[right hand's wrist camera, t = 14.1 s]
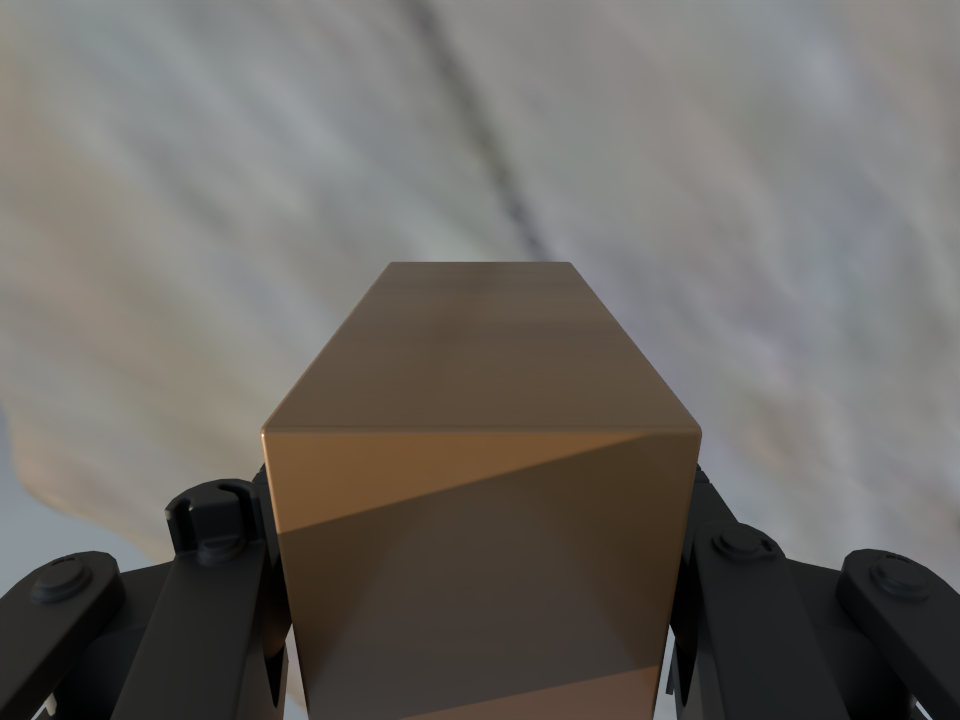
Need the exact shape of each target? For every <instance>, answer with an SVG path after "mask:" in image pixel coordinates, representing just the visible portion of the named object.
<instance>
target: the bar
mask: <svg viewBox="0 0 960 720" xmlns="http://www.w3.org/2000/svg"><path fill="white" fill-rule="evenodd" d="M260 437H261V442H262V448H263V454H264V460H265V466H266V472H267V478H268V484H269V489H270V495H271V501H272V507H273V513H274V519H275V525H276V531H277V536H278V542H279V548H280V554H281V560H282V566H283V572H284V577H285V583H286V589H287V595H288V601H289V607H290V613H291V619H292V624H293V630H294V636H295V642H296V648H297V654H298V660H299V665H300V671H301V677H302V683H303V689H304V695H305V701H306V707H307V712H308V718H309V720H653V717H654V711H655V706H656V700H657V694H658V688H659V682H660V677H661V671H662V665H663V659H664V653H665V647H666V642H667V636H668V630H669V624H670V618H671V613H672V607H673V601H674V595H675V589H676V584H677V578H678V572H679V566H680V560H681V555H682V549H683V543H684V537H685V531H686V525H687V520H688V514H689V508H690V502H691V496H692V491H693V485H694V479H695V473H696V467H697V462H698V456H699V450H700V444H701V438H702V430H701V427H700V426H699V424H698V423H697V422H696V421H695V419H694V418H693V417H692V415H691V414H690V413H689V412H688V410H687V409H686V408H685V407H684V405H683V404H682V403H681V402H680V400H679V399H678V398H677V397H676V395H675V394H674V393H673V391H672V390H671V389H670V388H669V386H668V385H667V384H666V383H665V381H664V380H663V379H662V378H661V376H660V375H659V374H658V372H657V371H656V370H655V369H654V367H653V366H652V365H651V364H650V362H649V361H648V360H647V359H646V357H645V356H644V355H643V354H642V352H641V351H640V350H639V348H638V347H637V346H636V345H635V343H634V342H633V341H632V340H631V338H630V337H629V336H628V335H627V333H626V332H625V331H624V329H623V328H622V327H621V326H620V324H619V323H618V322H617V321H616V319H615V318H614V317H613V316H612V314H611V313H610V312H609V311H608V309H607V308H606V307H605V305H604V304H603V303H602V302H601V300H600V299H599V298H598V297H597V295H596V294H595V293H594V292H593V290H592V289H591V288H590V287H589V285H588V284H587V283H586V281H585V280H584V279H583V278H582V276H581V275H580V274H579V273H578V271H577V270H576V269H575V268H574V266H573V265H572V264H571V263H570V262H391V263H389V264H388V266H387V267H386V268H385V270H384V271H383V272H382V273H381V275H380V276H379V277H378V279H377V280H376V281H375V282H374V284H373V285H372V286H371V288H370V289H369V290H368V291H367V293H366V294H365V295H364V297H363V298H362V299H361V300H360V302H359V303H358V304H357V306H356V307H355V308H354V309H353V311H352V312H351V313H350V315H349V316H348V317H347V318H346V320H345V321H344V322H343V323H342V325H341V326H340V327H339V329H338V330H337V331H336V332H335V334H334V335H333V336H332V338H331V339H330V340H329V341H328V343H327V344H326V345H325V347H324V348H323V349H322V350H321V352H320V353H319V354H318V356H317V357H316V358H315V359H314V361H313V362H312V363H311V365H310V366H309V367H308V368H307V370H306V371H305V372H304V374H303V375H302V376H301V377H300V379H299V380H298V381H297V382H296V384H295V385H294V386H293V388H292V389H291V390H290V391H289V393H288V394H287V395H286V397H285V398H284V399H283V400H282V402H281V403H280V404H279V406H278V407H277V408H276V409H275V411H274V412H273V413H272V415H271V416H270V417H269V418H268V420H267V421H266V422H265V424H264V425H263V426H262V428H261V431H260Z"/></svg>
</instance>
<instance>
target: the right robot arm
mask: <svg viewBox="0 0 960 720" xmlns="http://www.w3.org/2000/svg"><path fill="white" fill-rule="evenodd" d="M164 511H165V515H166V519H167V523H168V527H169V530H170V534H171V538H172V542H173V546H174V550H175V553H176V555H175V558H174V560H173V561H170V562H167V563H163V564H160V565H155V566H151V567H146V568H142V569H137V570H132V571H128V572H123V573H120V571H119V568H118V564H117V561H116V559H115V558H113V557H112V556H111V555H110V554H108V553H104V552H98V551H89V552H80V553H74V554H71V555H67V556H65V557H61V558H58V559H55V560H53V561H51V562H49V563H47V564H45V565H43V566H41V567H39V568H37V569H35V570H34V571H32V572H31V573H30V574H28V575H27V576H26V577H24V578H23V579H22V580H20V581H19V582H18V583H17V584H15V585H14V586H13V587H12V588H11V589H10V590H9V591H8V592H7V593H6V594H5V595H4V596H3V597H2V598H1V599H0V720H31V719H32V717H33V716H34V715H35V714H36V712H37V711H38V710H39V709H40V707H41V706H42V705H43V703H44V704H45V706H46V707H45V708H44V709H43V711H42V712H41V713H40V715H39V716H38V717H37V718H36V719H35V720H283V715H284V704H285V694H286V683H287V673H288V662H289V661H288V654H287V648H286V642H285V639H286V637H287V634H288V632H289V629H290V627H291V624H292V619H291V613H290V607H289V601H288V595H287V589H286V583H285V577H284V572H283V566H282V560H281V554H280V548H279V542H278V536H277V531H276V525H275V519H274V513H273V507H272V501H271V495H270V489H269V484H268V478H267V472H266V466H265V463H264V464H263V466H262V467H261V469H260V472H259V473H257V474H256V476H255V477H254V479H253V480H252V482H249V481H245V480H241V479H219V480H215V481H210V482H206V483H202V484H200V485H197V486H195V487H193V488H190V489H188V490H186V491H184V492H183V493H181V494H180V495H178V496H177V497H175V498H174V499H173V500H172V501H171V502H170V503H169V505H168V506H167V507H166V508H165V510H164ZM670 626H671V628H672V631H673V633H674V636H675V642H674V648H673V653H672V659H671V665H670V670H669V676H668V681H667V688H666V694H670V695H673V690H674V692H675V703H676V713H677V720H928V719H927V718H926V717H925V716H924V715H923V714H922V712H921V711H920V710H919V708H918V707H917V706H916V702H917V700H918V702H919V703H920V704H921V705H922V707H923V708H924V709H925V710H926V712H927V713H928V714H929V716H930V717H931V718H932V719H933V720H960V595H959V594H958V593H957V592H956V591H955V590H954V589H953V588H952V587H951V586H950V585H948V584H947V583H946V582H945V581H944V580H943V579H941V578H940V577H939V576H937V575H936V574H935V573H933V572H932V571H931V570H929V569H928V568H927V567H925V566H923V565H921V564H919V563H917V562H915V561H913V560H911V559H909V558H907V557H904V556H901V555H899V554H898V555H897V554H895V553H891V552H888V551H883V550H875V549H862V550H855V551H852V552H851V553H850V554H849V555H847V556H846V557H845V559H844V563H843V566H842V569H841V571H838V570H834V569H829V568H824V567H820V566H815V565H811V564H806V563H801V562H798V561H794V560H791V559H787V558H786V557H785V554H784V553H783V551H782V550H781V548H780V547H779V545H778V544H777V543H776V542H775V541H774V540H773V539H771V538H770V537H769V536H768V535H766V534H765V533H764V532H762V531H760V530H757V529H755V528H753V527H751V526H749V525H747V524H743V523H739V522H738V521H737V520H736V518H735V517H734V515H733V514H732V512H731V511H730V509H729V508H728V506H727V505H726V504H725V502H724V501H723V499H722V498H721V496H720V495H719V493H718V492H717V491H716V489H715V488H714V486H713V485H712V483H710V482H709V479H708V477H707V476H706V475H705V473H704V472H703V471H701V467H700V466H699V464H698V463H697V467H696V473H695V479H694V485H693V491H692V496H691V502H690V508H689V514H688V520H687V525H686V531H685V537H684V543H683V549H682V555H681V560H680V566H679V572H678V578H677V584H676V589H675V595H674V601H673V607H672V613H671V618H670Z"/></svg>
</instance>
